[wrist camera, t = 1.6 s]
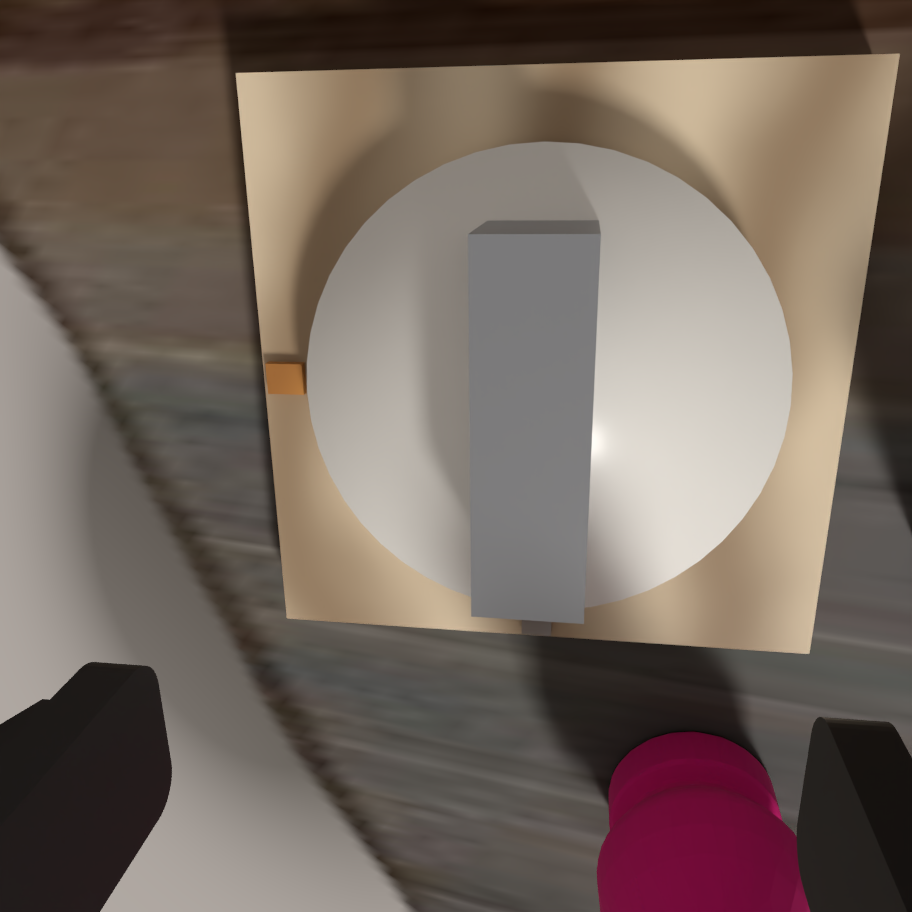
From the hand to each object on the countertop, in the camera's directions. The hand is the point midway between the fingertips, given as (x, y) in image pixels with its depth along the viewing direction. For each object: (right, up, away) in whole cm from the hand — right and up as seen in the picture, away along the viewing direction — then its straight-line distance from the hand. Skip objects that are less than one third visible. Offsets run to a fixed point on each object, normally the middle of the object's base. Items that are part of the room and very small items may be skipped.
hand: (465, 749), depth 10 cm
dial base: (+3, +6, +18) cm, 19 cm away
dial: (+3, +6, +16) cm, 17 cm away
